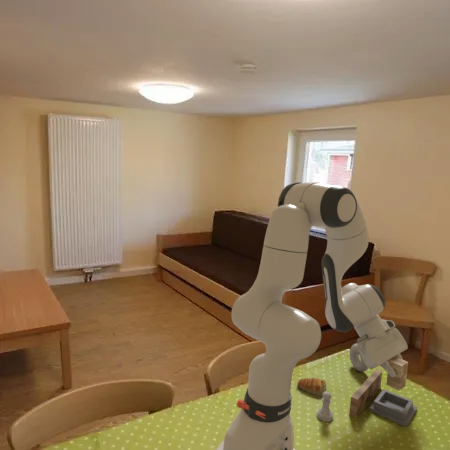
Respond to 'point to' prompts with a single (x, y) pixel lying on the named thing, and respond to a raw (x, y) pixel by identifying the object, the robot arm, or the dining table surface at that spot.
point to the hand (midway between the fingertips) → (399, 373)
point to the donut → (357, 359)
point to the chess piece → (325, 408)
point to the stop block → (401, 369)
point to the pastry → (312, 385)
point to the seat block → (393, 407)
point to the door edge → (365, 393)
